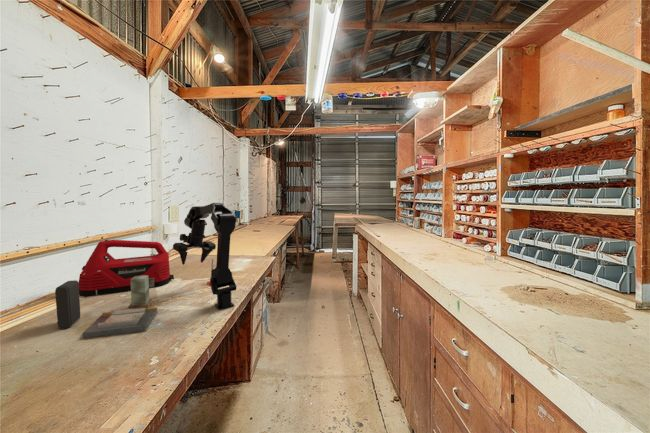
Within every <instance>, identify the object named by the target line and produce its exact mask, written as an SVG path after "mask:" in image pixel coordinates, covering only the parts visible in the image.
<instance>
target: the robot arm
mask: <svg viewBox="0 0 650 433" xmlns="http://www.w3.org/2000/svg"><path fill="white" fill-rule="evenodd" d="M216 213H217V214H216ZM210 215H211V216H210ZM208 217H210V220H211V221H212V223H213V227H214V229H215V232H216V233H217V245H216V243H214V242H213V241H210V240H208V241H207V240H204V239H205V238H206V235H205V230H206V226H207V225H208V223H207V221H206V219H207V218H208ZM183 223H184V225H185V226H186V227H188V228H189V229H191V230H190V232H189V233H188V235H187V234H186V233H180V234H179V241H181V242H174V243H173V245H172V249H173V250H175V251H176V252H177V253H179V257H180V260H181V264H182V265H185V263H186V261H187V257H188V251H189V250H190V249H201V255H200V263H203V262H204V261H205V259H206V258H207V257H208V256H209V255H210V253H212V252H213V251H214V250H217V251H216V266H215V267H214V269H212V268H211V269H212V271H211V272H210V273H211V274H210V278H211V280H210V279H209V281H210V284H211V285H210V284H209V285H210V289H211V293H212V295H216V299H217V300H216V303H214V306H215V307H216V308H217V310H223V309H227V308H232V307H235V303H233V302H232V292H234V291H236V290H237V284H236V282H235V279H234V277H233V272H232V270H231V269H230V267H229V266H230V263H229V262H230V250H231V249H230V248H231V235H232V233H233V232H234V231H235V229H236V224H237V216H236V215H235V213H234V212H233V210H231V209H230V208H228V207H227V206H226V205H225V204H224V203H222V202H212V203H210V204H206V205H203V206H202V205H201V206H191V207H190V209H189V211H188V213H187V214H186V217H185V219H184V221H183ZM216 247H217V249H216ZM188 249H189V250H188Z"/></svg>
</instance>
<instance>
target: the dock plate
mask: <svg viewBox="0 0 650 433" xmlns="http://www.w3.org/2000/svg"><path fill="white" fill-rule="evenodd" d="M157 314H158V307H157V306H156V307H155V306H154V307H148V308H145V307H144V308H134V309H128V308H126V309H117V310H111V311H106V312H105V311H104V312H103V313H102V314H101V315H100V316H99V317H98V318H97V319H95V321H93V323H91V324H90V325H89V326H88V327H86V329H85V330H84V331H83V332H82V333H81V334H82V340H85V339H93V338H101V337H102V338H103V337H107V336H108V337H110V336H111V337H112V336H116V335H117V336H118V335H124V334H126V335H127V334H135V333H143V332H146V331H147V330H148V328H149V327H150V325H151V324H152V323H153V321H154V319H155V317H156V316H157ZM152 320H153V321H152Z"/></svg>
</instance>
